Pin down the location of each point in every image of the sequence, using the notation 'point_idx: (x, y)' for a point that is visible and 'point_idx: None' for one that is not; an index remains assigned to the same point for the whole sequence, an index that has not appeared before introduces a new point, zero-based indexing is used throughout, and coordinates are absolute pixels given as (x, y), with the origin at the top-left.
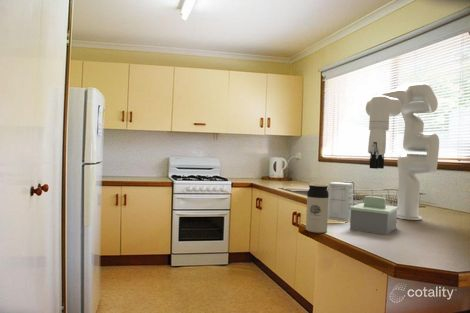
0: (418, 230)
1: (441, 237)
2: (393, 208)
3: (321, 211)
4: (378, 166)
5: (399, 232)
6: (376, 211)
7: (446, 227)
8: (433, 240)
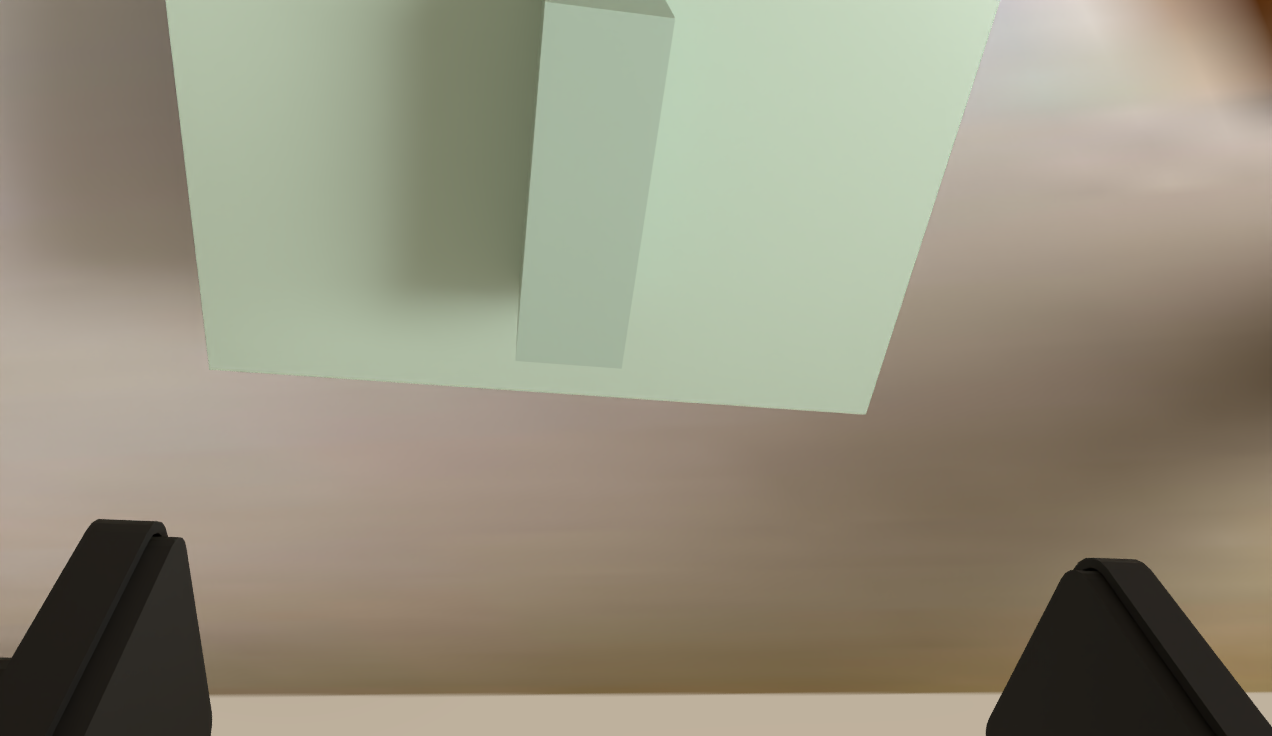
0: (789, 441)
1: (570, 585)
2: (607, 380)
3: None
4: (1066, 679)
5: None
6: (198, 208)
7: None
8: (387, 548)
